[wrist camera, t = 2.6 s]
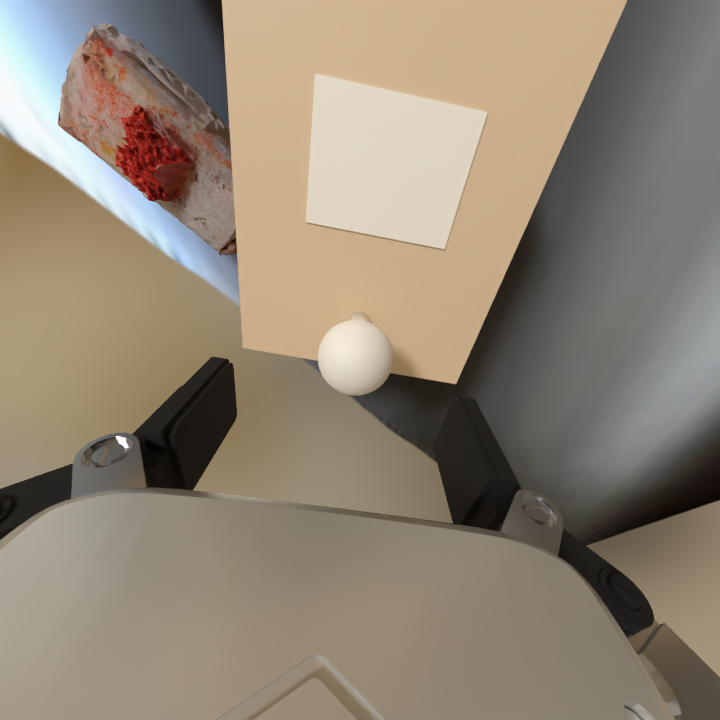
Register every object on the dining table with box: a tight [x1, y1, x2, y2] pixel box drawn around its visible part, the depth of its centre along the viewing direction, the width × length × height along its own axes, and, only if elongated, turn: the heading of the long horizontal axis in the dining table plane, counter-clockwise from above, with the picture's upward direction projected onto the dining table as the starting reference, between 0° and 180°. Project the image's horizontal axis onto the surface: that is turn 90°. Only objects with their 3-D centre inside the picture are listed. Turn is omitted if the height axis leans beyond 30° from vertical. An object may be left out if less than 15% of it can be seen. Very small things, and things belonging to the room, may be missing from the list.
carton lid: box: [222, 0, 627, 395], centre depth 13 cm, size 16×20×7 cm
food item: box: [58, 24, 237, 256], centre depth 21 cm, size 14×8×10 cm, turn 49°
